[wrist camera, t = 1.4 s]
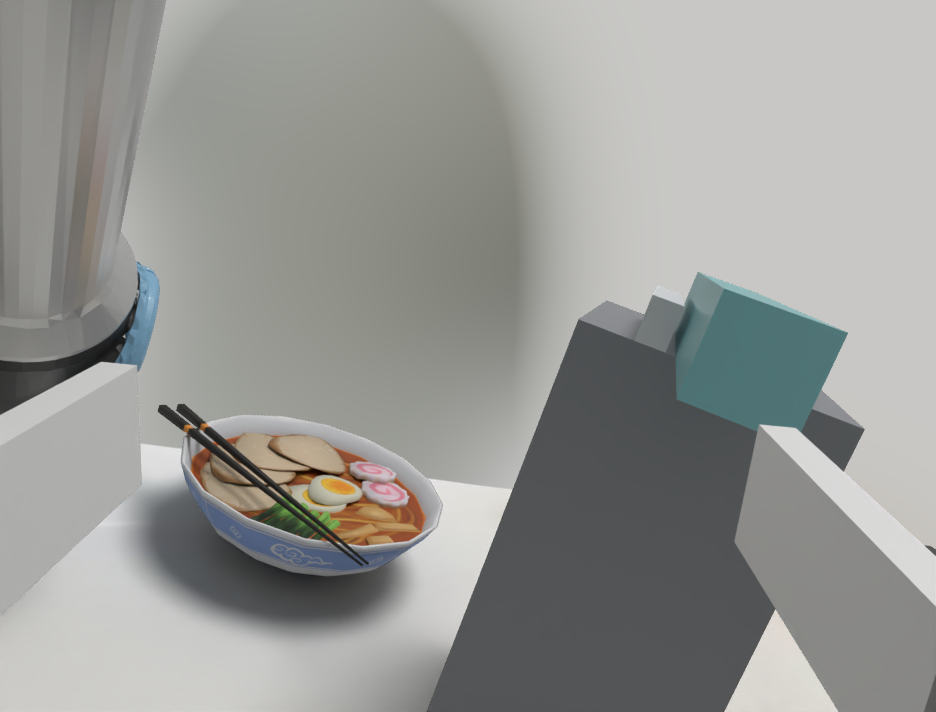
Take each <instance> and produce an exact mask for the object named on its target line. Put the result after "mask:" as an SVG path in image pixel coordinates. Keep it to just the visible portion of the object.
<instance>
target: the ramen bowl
mask: <svg viewBox="0 0 936 712" xmlns="http://www.w3.org/2000/svg"><path fill="white" fill-rule="evenodd" d="M176 411H178V412H179V413H180V414H181V415H183V416H184V417H185V418H186V419H188V420H189V421H190V422H191V423H192V424H194V425H195V426H196V427H197V429H195V428H193V427H191V425H190V424H189V423H188V422H186V421H185V420H184V419H183V418H181V417H180V416H179V415H178V414H176V413H175V412H174V411H173V410H171V409H170V408H169V407H168V406H167V405H159V408H158V412H159V413H160V414H161V415H163V416H164V417H165V418H167V419H168V420H169V421H171V422H172V423H173V424H175V425H176V426H177V427H179V428H180V429H181V430H183V431H184V432H186V433H187V434H188V435H186V436H185V437H184V438H183V446H182V455H181V465H182V469H183V472H184V476H185V480H186V482H187V484H188V487H189V489H190V491H191V493H192V495H193V498H194V499H195V501H196V502H197V504H198V505H199V507H200V508H201V510H202V511H203V513H204V514H205V516H206V517H207V519H208V520H209V522H210V523H211V525H212V526H213V527H214V529H215V530H216V532H217V533H218V535H220V536H221V537H223V538H224V539H226V540H227V541H229V542H230V543H232V544H233V545H235V546H236V547H238V548H239V549H241V550H242V551H244V552H245V553H247V554H248V555H250V556H251V557H253V558H254V559H256V560H258V561H261V562H264V563H266V564H269V565H272V566H275V567H278V568H280V569H283V570H286V571H289V572H293V573H302V574H311V575H320V576H338V575H345V574H353V573H360V572H367V571H372V570H374V569H376V568H379V567H381V566H383V565H385V564H386V563H388V562H390V561H391V560H393V559H394V558H396V557H398V556H399V555H401V554H402V553H404V552H405V551H407V550H409V549H410V548H412V547H413V546H415V545H416V544H418V543H419V542H421V541H422V540H424V539H425V538H426V537H427V536H428V535H429V534H430V533H431V532H432V531H433V530H434V529H435V528H436V527H437V526H438V522H439V518H440V515H441V511H442V507H443V504H442V502H441V500H440V498H439V496H438V495H437V493H436V491H435V489H434V487H433V485H432V483H431V482H430V481H429V480H428V479H427V478H426V477H425V476H424V475H423V474H421V473H420V472H419V471H418V470H417V469H416V468H415V467H413V466H412V465H411V464H410V463H409V462H408V461H407V460H405V459H404V458H402V457H400V456H398V455H397V454H395V453H393V452H391V451H389V450H387V449H385V448H384V447H382V446H380V445H378V444H376V443H374V442H372V441H370V440H369V439H366V438H363V437H360V436H358V435H355V434H352V433H349V432H346V431H343V430H341V429H338V428H335V427H332V426H329V425H326V424H321V423H316V422H311V421H306V420H300V419H295V418H290V417H285V416H265V415H264V416H263V415H237V416H233V417H228V418H223V419H218V420H212V421H207V422H205V421H203V420H202V419H201V418H200V417H199V416H198V415H196V414H195V413H194V412H193V411H192V410H191V409H189V408H188V407H187V406H186V405H185V404H178V406H177V410H176Z"/></svg>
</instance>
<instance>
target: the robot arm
mask: <svg viewBox="0 0 936 712" xmlns="http://www.w3.org/2000/svg"><path fill="white" fill-rule="evenodd" d="M165 3H166V0H0V616H1V615H2V614H3V613H4V612H5V611H6V610H7V609H8V608H9V607H11V606H12V605H13V604H14V603H15V602H16V601H17V600H18V599H19V598H20V597H21V596H22V595H23V594H24V593H26V592H27V591H28V590H29V589H30V588H31V587H32V586H33V585H34V584H35V583H36V582H37V581H38V580H39V579H41V578H42V577H43V576H44V575H45V574H46V573H47V572H48V571H49V570H50V569H51V568H52V567H53V566H54V565H56V564H57V563H58V562H59V561H60V560H61V559H62V558H63V557H64V556H65V555H66V554H67V553H68V552H69V551H71V550H72V549H73V548H74V547H75V546H76V545H77V544H78V543H79V542H80V541H81V540H82V539H83V538H84V537H86V536H87V535H88V534H89V533H90V532H91V531H92V530H93V529H94V528H95V527H96V526H97V525H98V524H100V523H101V522H102V521H103V520H104V519H105V518H106V517H107V516H108V515H109V514H110V513H111V512H112V511H113V510H115V509H116V508H117V507H118V506H119V505H120V504H121V503H122V502H123V501H124V500H125V499H126V498H127V497H128V496H130V495H131V494H132V493H133V492H134V491H135V490H136V489H137V488H138V487H139V486H140V485H141V484H142V478H141V452H140V428H139V402H138V375H137V373H138V371H139V370H140V368H141V365H142V363H143V361H144V358H145V355H146V352H147V349H148V346H149V342H150V339H151V335H152V331H153V327H154V323H155V318H156V314H157V308H158V302H159V292H160V287H159V280H158V278H157V276H156V274H155V273H154V271H153V270H151V269H150V268H148V267H145V266H143V265H141V264H140V263H139V262H136V260H135V257H134V254H133V251H132V249H131V247H130V245H129V244H128V242H127V240H126V239H125V237H124V236H123V234H122V233H121V226H122V221H123V216H124V210H125V205H126V200H127V195H128V190H129V185H130V180H131V175H132V170H133V165H134V160H135V155H136V150H137V144H138V140H139V135H140V130H141V124H142V119H143V114H144V109H145V104H146V99H147V94H148V89H149V84H150V78H151V74H152V69H153V64H154V58H155V53H156V49H157V44H158V38H159V33H160V28H161V23H162V18H163V12H164V8H165ZM734 542H735V544H736V545H737V547H738V549H739V550H740V552H741V554H742V555H743V557H744V558H745V560H746V562H747V563H748V565H749V567H750V568H751V570H752V571H753V573H754V575H755V576H756V578H757V580H758V581H759V583H760V584H761V586H762V588H763V589H764V591H765V593H766V594H767V596H768V597H769V599H770V601H771V602H772V604H773V606H774V607H775V609H776V611H777V612H778V614H779V615H780V617H781V619H782V620H783V622H784V624H785V625H786V627H787V628H788V630H789V632H790V633H791V635H792V637H793V638H794V640H795V641H796V643H797V645H798V646H799V648H800V650H801V651H802V653H803V654H804V656H805V658H806V659H807V661H808V663H809V664H810V666H811V668H812V669H813V671H814V672H815V674H816V676H817V677H818V679H819V681H820V682H821V684H822V685H823V687H824V689H825V690H826V692H827V694H828V695H829V697H830V698H831V700H832V702H833V703H834V705H835V707H836V708H837V710H838V711H839V712H936V549H934V548H933V547H931V546H925V545H923V544H922V543H921V542H920V541H919V540H918V539H916V538H915V537H914V536H913V535H912V534H911V533H910V532H909V531H908V530H907V529H906V528H904V527H903V526H902V525H901V524H900V523H899V522H898V521H897V520H896V519H895V518H894V517H892V516H891V515H890V514H889V513H888V512H887V511H886V510H885V509H884V508H883V507H882V506H880V505H879V504H878V503H877V502H876V501H875V500H874V499H872V497H871V496H869V495H868V494H867V493H866V492H865V491H864V490H863V489H862V488H861V487H860V486H859V485H857V484H856V483H855V482H854V481H853V480H852V479H851V478H850V477H849V476H848V475H847V474H845V473H844V472H843V471H842V470H841V469H840V468H839V467H838V466H837V465H836V464H835V463H833V462H832V461H831V460H830V459H829V458H828V457H827V456H826V455H825V454H824V453H823V452H821V451H820V450H819V449H818V448H817V447H816V446H815V445H814V444H813V443H812V442H810V441H809V440H808V439H807V438H806V437H805V436H804V435H803V434H802V433H801V432H800V431H798V430H797V429H796V428H791V427H780V426H770V425H759V427H758V432H757V436H756V441H755V446H754V451H753V455H752V460H751V465H750V469H749V474H748V479H747V484H746V488H745V493H744V498H743V503H742V507H741V512H740V517H739V522H738V526H737V531H736V536H735V541H734Z"/></svg>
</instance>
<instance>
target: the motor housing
mask: <svg viewBox="0 0 936 712" xmlns="http://www.w3.org/2000/svg"><path fill="white" fill-rule="evenodd" d="M684 307H685V305H684V301H683V297H682V294H680V293H678V292H675V291H672V290H670V289H667V288H664V287H661V286H657V288H656V289H655V292H654V293H653V295H652V298H651V300H650V303H649V305H648V308H647V310H646V313H645V315H644V314H641V313H638V312H636V311H633V310H630V309H628V308H625V307H622V306H620V305H617V304H614V303H612V302H609V301H606V302H604V303H602V304H601V305H599V306H598V307H596V308H595V309H593V310H592V311H590V312H589V313H587V314H586V315H584V316H583V317H581V318H580V319H579V320H578V322H577V325H576V327H575V330H574V332H573V335H572V338H571V340H570V343H569V346H568V348H567V351H566V353H565V356H564V358H563V361H562V363H561V366H560V369H559V371H558V374H557V377H556V379H555V382H554V384H553V387H552V389H551V392H550V395H549V397H548V400H547V402H546V405H545V408H544V410H543V413H542V415H541V418H540V420H539V423H538V426H537V428H536V431H535V434H534V436H533V439H532V441H531V444H530V446H529V449H528V451H527V454H526V457H525V459H524V462H523V465H522V467H521V470H520V472H519V475H518V477H517V480H516V482H515V485H514V488H513V490H512V493H511V495H510V498H509V501H508V503H507V506H506V508H505V511H504V513H503V516H502V519H501V521H500V524H499V526H498V529H497V532H496V534H495V537H494V539H493V542H492V544H491V547H490V550H489V552H488V555H487V557H486V560H485V563H484V565H483V568H482V570H481V573H480V575H479V578H478V581H477V583H476V586H475V588H474V591H473V594H472V596H471V599H470V601H469V604H468V607H467V609H466V612H465V614H464V617H463V619H462V622H461V625H460V627H459V630H458V632H457V635H456V638H455V640H454V643H453V645H452V648H451V650H450V653H449V656H448V658H447V661H446V663H445V666H444V669H443V671H442V674H441V676H440V679H439V682H438V684H437V687H436V689H435V692H434V694H433V697H432V700H431V702H430V705H429V707H428V710H427V712H724V711H725V709H726V707H727V705H728V703H729V701H730V699H731V697H732V695H733V693H734V691H735V689H736V687H737V685H738V683H739V681H740V679H741V677H742V675H743V673H744V671H745V669H746V667H747V665H748V663H749V661H750V659H751V657H752V655H753V653H754V651H755V649H756V647H757V645H758V643H759V641H760V639H761V637H762V635H763V633H764V631H765V629H766V627H767V625H768V623H769V621H770V619H771V617H772V615H773V613H774V611H775V607H774V606H773V604H772V602H771V601H770V599H769V597H768V596H767V594H766V593H765V591H764V589H763V588H762V586H761V584H760V583H759V581H758V580H757V578H756V576H755V575H754V573H753V571H752V570H751V568H750V567H749V565H748V563H747V562H746V560H745V558H744V557H743V555H742V554H741V552H740V550H739V549H738V547H737V545H736V544H735V542H734V541H735V536H736V531H737V526H738V522H739V517H740V512H741V507H742V503H743V498H744V493H745V488H746V484H747V479H748V474H749V469H750V465H751V460H752V455H753V451H754V446H755V441H756V436H757V432H758V431H755V430H752V429H750V428H747V427H745V426H742V425H740V424H737V423H735V422H732V421H730V420H727V419H725V418H722V417H720V416H717V415H715V414H712V413H710V412H707V411H705V410H702V409H700V408H697V407H695V406H692V405H689V404H687V403H684V402H682V401H679V400H677V399H676V361H675V329H676V326H677V324H678V322H679V319H680V317H681V314H682V312H683V310H684ZM863 432H864V428H863V427H862V426H861V425H859V424H858V423H857V422H856V421H855V420H854V419H853V418H852V417H851V416H849V415H848V414H847V413H846V412H845V411H844V410H843V409H842V408H841V407H839V406H838V405H837V404H836V403H835V402H834V401H833V400H832V399H831V398H829V397H828V396H827V395H826V394H825V393H824V392H823V391H822V390H821V391H820V393H819V395H818V397H817V399H816V401H815V404H814V406H813V408H812V410H811V412H810V414H809V416H808V418H807V420H806V422H805V425H804V427H803V429H802V431H801V433H802V434H803V435H804V436H805V437H806V438H807V439H808V440H809V441H810V442H812V443H813V444H814V445H815V446H816V447H817V448H818V449H819V450H820V451H821V452H823V453H824V454H825V455H826V456H827V457H828V458H829V459H830V460H831V461H832V462H833V463H835V464H836V465H837V466H838V467H839V468H840V469H841V470H842V471H843V472H844V470H845V468H846V466H847V464H848V462H849V460H850V458H851V456H852V454H853V452H854V450H855V448H856V446H857V444H858V442H859V440H860V438H861V436H862V434H863Z"/></svg>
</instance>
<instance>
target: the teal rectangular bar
mask: <svg viewBox="0 0 936 712" xmlns="http://www.w3.org/2000/svg"><path fill="white" fill-rule="evenodd" d="M684 305H685V307H684V310H683V312H682V314H681V317H680V319H679V322H678V324H677V326H676V329H675V361H676V399H677V400H679V401H682V402H684V403H687V404H689V405H692V406H695V407H697V408H700V409H702V410H705V411H707V412H710V413H712V414H715V415H717V416H720V417H722V418H725V419H727V420H730V421H732V422H735V423H737V424H740V425H742V426H745V427H747V428H750V429H752V430H755V431H758V427H759V425H770V426H780V427H791V428H796V429H797V430H798V431H800V432H801V431H802V429H803V427H804V425H805V422H806V420H807V418H808V416H809V414H810V412H811V410H812V408H813V406H814V404H815V401H816V399H817V397H818V395H819V393H820V391H821V389H822V387H823V385H824V383H825V381H826V378H827V376H828V374H829V372H830V370H831V368H832V366H833V363H834V361H835V360H836V357H837V355H838V353H839V351H840V349H841V346H842V345H843V342H844V341H845V338H846V336H847V334H848V333H847V332H845V331H842V330H840V329H838V328H836V327H833V326H831V325H829V324H826V323H824V322H822V321H820V320H817V319H815V318H813V317H810V316H808V315H806V314H803V313H801V312H799V311H797V310H794V309H792V308H790V307H788V306H785V305H783V304H781V303H778V302H776V301H774V300H771V299H769V298H767V297H765V296H762V295H760V294H758V293H755V292H752V291H750V290H747V289H744V288H741V287H738V286H736V285H733V284H730V283H727V282H724V281H722V280H719V279H716V278H713V277H710V276H707V275H705V274H702V273H699V272H698V273H697V276H696V278H695V280H694V282H693V285H692V287H691V290H690V292H689V295H688V297H687V299H686V302H685V304H684Z"/></svg>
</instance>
